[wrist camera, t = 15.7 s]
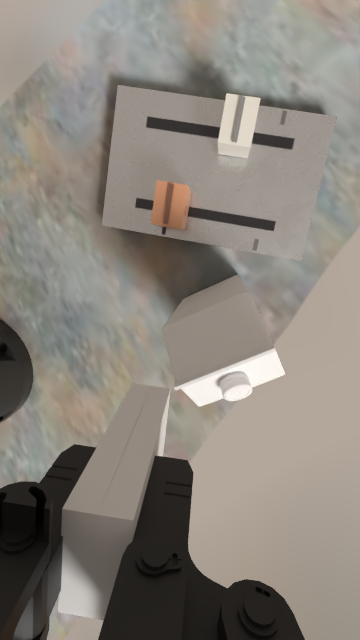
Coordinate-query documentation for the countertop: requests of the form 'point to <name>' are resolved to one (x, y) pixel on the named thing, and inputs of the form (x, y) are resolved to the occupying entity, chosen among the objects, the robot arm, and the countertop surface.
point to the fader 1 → (171, 205)
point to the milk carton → (220, 344)
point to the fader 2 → (238, 125)
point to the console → (216, 171)
